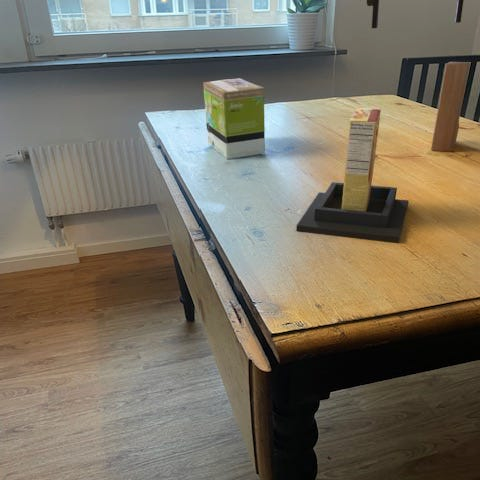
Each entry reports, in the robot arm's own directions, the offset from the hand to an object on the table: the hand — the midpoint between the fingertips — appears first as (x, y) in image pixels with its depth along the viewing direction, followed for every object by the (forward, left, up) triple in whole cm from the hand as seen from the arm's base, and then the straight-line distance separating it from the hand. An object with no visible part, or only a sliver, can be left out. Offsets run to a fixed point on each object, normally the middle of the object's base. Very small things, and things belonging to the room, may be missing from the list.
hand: (415, 25), depth 86 cm
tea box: (+39, -12, -27) cm, 49 cm away
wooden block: (-9, -26, -27) cm, 38 cm away
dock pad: (+4, +23, -27) cm, 35 cm away
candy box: (+4, +21, -26) cm, 34 cm away
